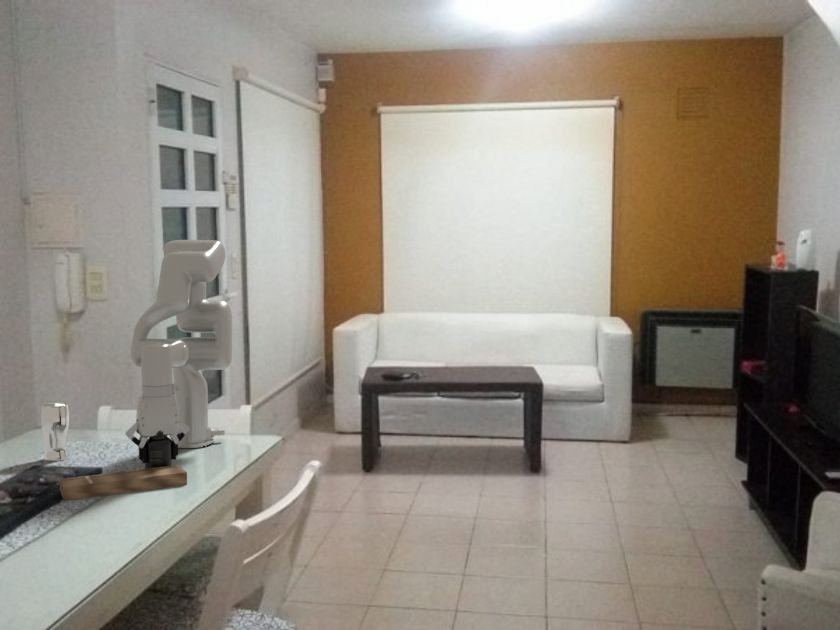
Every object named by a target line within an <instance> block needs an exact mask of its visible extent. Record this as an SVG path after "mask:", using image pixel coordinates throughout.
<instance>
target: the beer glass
mask: <svg viewBox="0 0 840 630" xmlns="http://www.w3.org/2000/svg"><path fill="white" fill-rule="evenodd" d="M40 419H41V430H42V434H43V439H44V445H45V453H44V458H43V459H44V461H46V462H61V461H65V460H68V458H69V453H68V448H67V441H68V436H69V435H68V434H69V430H70V429H69V427H70V413H69V404H68V403H67V402H49V403H44V404H42V405H41V418H40Z"/></svg>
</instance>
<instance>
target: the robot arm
mask: <svg viewBox="0 0 840 630" xmlns="http://www.w3.org/2000/svg"><path fill="white" fill-rule="evenodd" d="M162 252H163V258H162V261H161V264H160V265H161V266H160V273H159V279H158V287H157V292H156V293H157V294H156V299H155V302H154V303H153V304H152V305H150V306H149V307H148V308H147V309H146V311H144V313H143V314H142V315H141V316H140V318H139V319H138V320H137V322H136V324H135V327H134V329H133V335H132V342H131V348H130V357H131V361H132V363H133V364H134V365H135V366H136V367H140V369H141V396H139V397H138V400H137V405H136V415H135V416H136V417H135V422H134V424H133V425H132V426H131V427H129V428H128V430H126V431H125V432H124V434H125V436H126V437H127V438H128V439H129V440H130V441H132V443H134V444H135V445H136V446H137V447H138V460H139V461H141V463H142V464H145V463H146V448H145V443H146V441H147V439H148V438H149V437H153V436H155V435H156V434H157V432H158V431H160V430H161V432H162V431H163V435H164V434H165V435H167V436H169V438H170V439H171V440H172V458H173V461H176V460H177V456H179V449H199V448H204V447H203V446H205V447H208V446H207V445H209V444H211V443H213V442H214V441H215V439H214V437H216V436H219V437H220V436H224V435H225V432H226V431H225V429H224V428H219V429H218V428H211V427H210V426H209V395H208V394H209V392H208V390H209V389H208V387H209V386H208V382H207V380H206V378H205V377H204V376H203V374H202V373H201V371H220V370H221V371H222V370H226V369H229V367H230V365H231V362H232V358H233V355H232V354H233V316H232V315H233V314H232V309H231V306H230V305H229V303H227V301H224V300H213V299H212V300H208V299H207V283H210V282H213V281H214V279H216V277H217V276H218V274H219V272H220V271H221V270H222V268H223V266H224V265H225V262H226V261H225V260H226V250H225V247H224V245H223V243H222V242H221V241H218V240H215V239H211V240H210V239H209V240H208V239H204V240H203V239H202V240H201V239H176V240H171V241H168V242H166V243H165V244H164V246H163V251H162ZM172 317H175V320H176V326H177V329H178V330H179V331H181V332H184V333H196V334H197V333H199V334H200V333H203V334H205V333H206V334H207V333H212V334H214V336H215V337H212V336H211V337H208V336H207V337H203V336H201V337H200V336H198V337H196V336H195V337H193V336H191V337H190V336H187V337H186V336H185V337H180V338H148V335H149V333H150V332H151V330H152V329H153V328H154V327H156V326H157V325H158V324H160V323H162V322H163V321H166V320H168V319H170V318H172ZM135 432H136V433H137V434H138V435H139V438H137V437H136V436H135V435H134V433H135ZM213 444H214V443H213ZM211 445H212V444H211ZM209 446H210V445H209Z"/></svg>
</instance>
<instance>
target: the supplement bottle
mask: <svg viewBox="0 0 840 630" xmlns="http://www.w3.org/2000/svg"><path fill="white" fill-rule="evenodd" d="M145 448H146V463H144V469H148V468H157V467H165V466H174V464H173V461H174V460H173V458H172V440H171V437H170V436H169V437H168V435H165V434H164V435H163V431H162V432H161V430H160V431H158V432H157V434H156V435H155V436H153V437H148V439H147V441H146V443H145Z"/></svg>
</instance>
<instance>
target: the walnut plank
mask: <svg viewBox="0 0 840 630" xmlns="http://www.w3.org/2000/svg"><path fill="white" fill-rule="evenodd" d="M184 485H188V471H186V470H185V469H184V468H183V467H182V466H181V465H179V464H175V465H174V464H173V466H165V467H157V468H148V469H145V468H139V469H131V470H126V471H124V470H123V471H118V472H107V473H100V474H99V473H98V474H92V475H83V476H76V477H75V476H74V477H66V478H59V492H60V491H61V493H60V495H61V496H62V497H61V498H62V499H63V501H70V500H76V499H77V500H78V499H84V498H93V497H94V498H95V497H100V496H101V497H102V496H106V495H107V496H108V495H114V494H123V493H130V492H137V491H138V492H139V491H145V490H152V489H161V488H162V489H163V488H168V487H176V486H184Z"/></svg>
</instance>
